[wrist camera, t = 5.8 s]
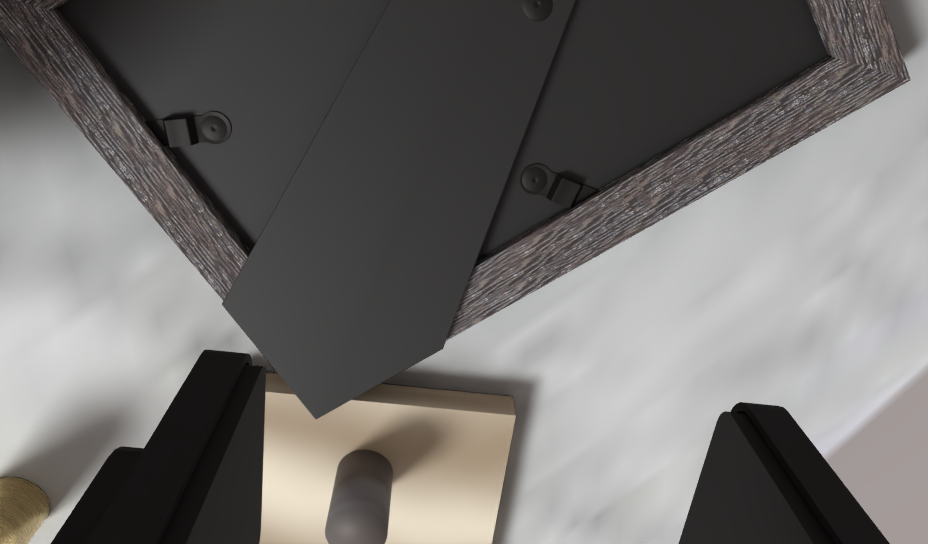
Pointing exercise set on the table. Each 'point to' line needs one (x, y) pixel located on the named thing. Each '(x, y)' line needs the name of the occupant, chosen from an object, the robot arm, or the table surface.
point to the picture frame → (431, 142)
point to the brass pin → (21, 510)
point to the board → (416, 442)
